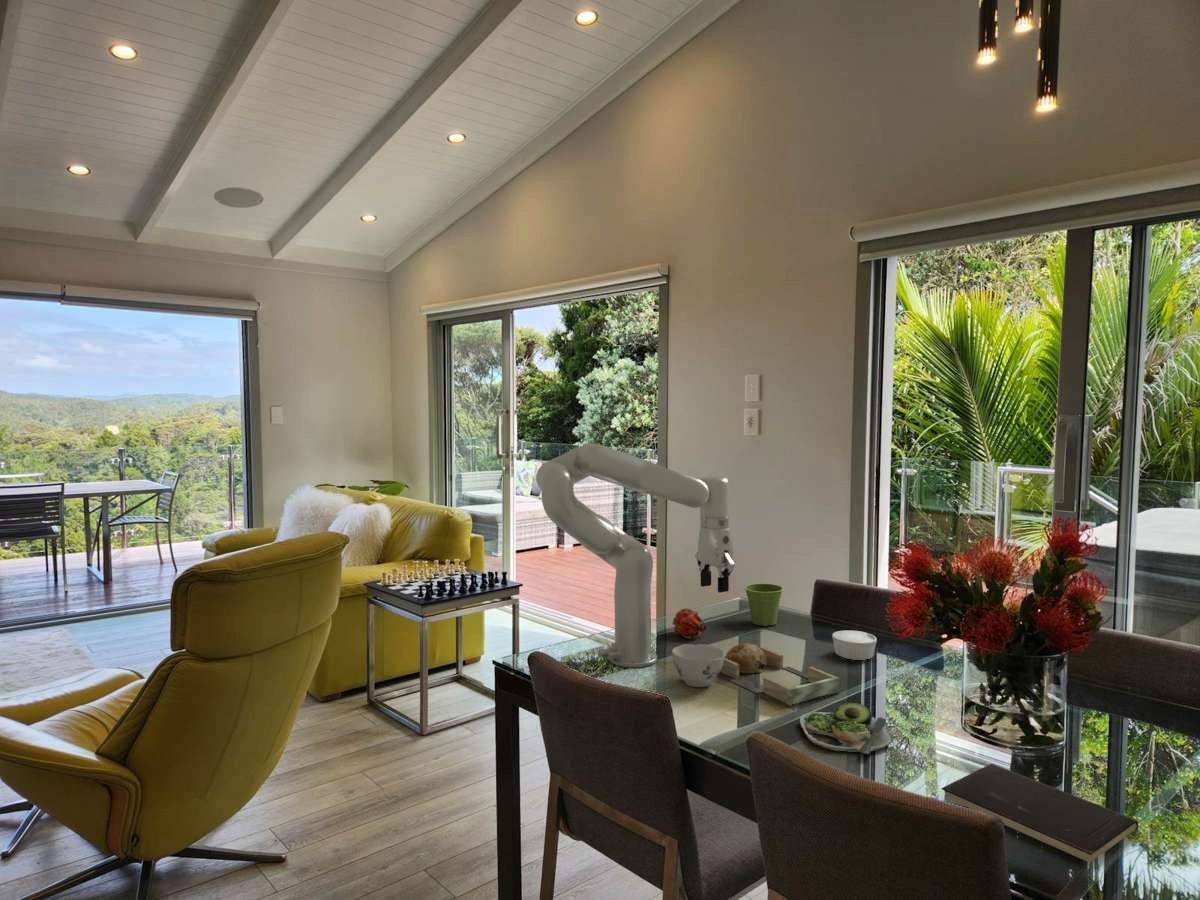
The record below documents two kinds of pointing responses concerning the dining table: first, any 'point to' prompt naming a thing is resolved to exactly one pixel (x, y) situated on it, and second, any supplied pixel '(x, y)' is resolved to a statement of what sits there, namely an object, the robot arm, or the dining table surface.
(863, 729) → the avocado toast plate
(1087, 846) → the hardcover book
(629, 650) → the robot arm
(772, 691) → the beige shallow tray
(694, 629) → the dragon fruit
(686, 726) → the dining table surface
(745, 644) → the bread roll
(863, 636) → the ramekin
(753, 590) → the plant pot
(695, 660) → the teacup
